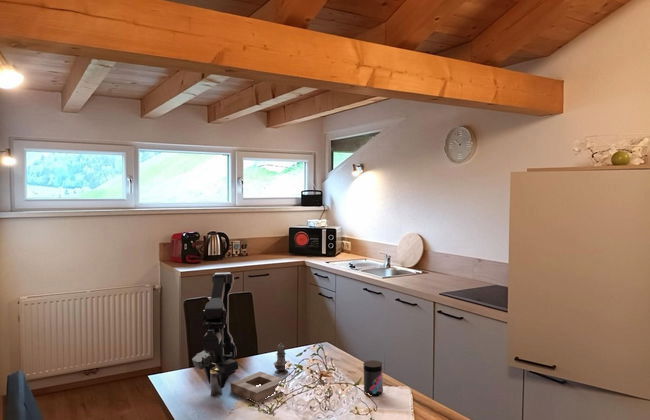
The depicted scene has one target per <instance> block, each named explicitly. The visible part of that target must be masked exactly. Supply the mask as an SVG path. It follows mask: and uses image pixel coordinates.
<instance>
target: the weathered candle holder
mask: <svg viewBox="0 0 650 420" xmlns="http://www.w3.org/2000/svg"><path fill="white" fill-rule="evenodd" d="M285 347H286V346H285V344H282V342H280V343H279V344H278V345H277V347H276V351H277V353H276V359H277V360H276V361H275V362H273V365H274V368H275V369H276V370H274V374H275V375H280V376H281V375H282V376H283V375H286V374H288V373H289V371H288V370H287V368H286V369H285V364H286V363H287V362H288V361H287V360H286V354H287V353H286V352H285V351H286V350H285Z"/></svg>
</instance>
